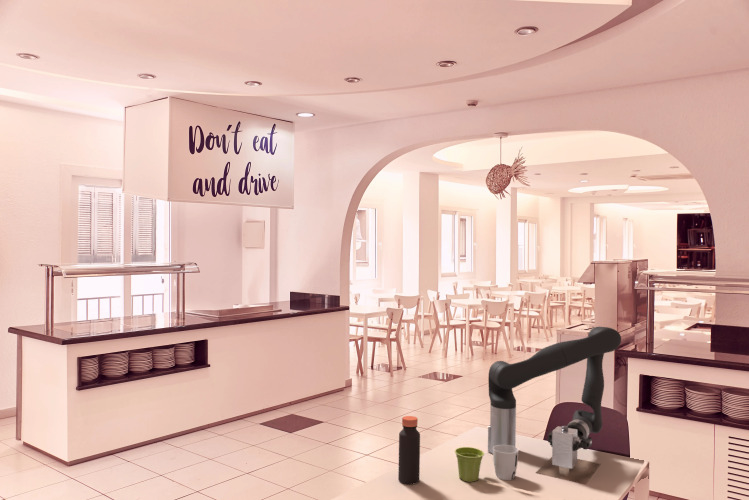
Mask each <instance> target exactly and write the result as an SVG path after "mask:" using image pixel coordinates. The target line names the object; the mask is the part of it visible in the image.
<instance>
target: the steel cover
mask: <svg viewBox="0 0 749 500" xmlns="http://www.w3.org/2000/svg"><path fill="white" fill-rule="evenodd" d="M551 431H552V447H551V448H552V449H551V450H552V451H551V452H552V453H551V457H552V465H557V466H561V467H566V468H571V469H572V468H573V467H574V466H575V465H576V464H577V459H578V450H576V451H573V444H574V443H575V442H576V441H577V429H571V428H568V426H567V425H561V426H556V427H555V428H554V429H553V430H551Z"/></svg>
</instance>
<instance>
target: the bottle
mask: <svg viewBox="0 0 749 500" xmlns="http://www.w3.org/2000/svg"><path fill="white" fill-rule="evenodd" d="M401 419H402V420H401V421H402V422H401V424H402V425H401V426H402V429H401V430H400V431H399V433H398V472H397V473H398V482H400V483H401V484H405V485H416V484H417V483H419V482H420V469H421V468H420V467H421V466H420V464H421V463H420V462H421V461H420V458H421V434H420V432H419V431H418V430H417V427H418V417H416V416H413V415H405V416H402V418H401Z"/></svg>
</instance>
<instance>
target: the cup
mask: <svg viewBox="0 0 749 500" xmlns="http://www.w3.org/2000/svg"><path fill="white" fill-rule="evenodd" d="M492 456H493V457H492V458H493V460H492V461H493V466H494V472H495V476H496V478H497V479H499V480H502V481H512V480H514V479H515V477H516V474H517V469H518V460H519V448H518V447H516V446H515V447H514V446H510V445H496V446H494V447H493V454H492Z"/></svg>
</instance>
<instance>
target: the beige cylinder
mask: <svg viewBox="0 0 749 500" xmlns="http://www.w3.org/2000/svg"><path fill="white" fill-rule="evenodd" d="M559 474H561V475H565V476H567V475H569V468H566V467H561V466H559Z"/></svg>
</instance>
